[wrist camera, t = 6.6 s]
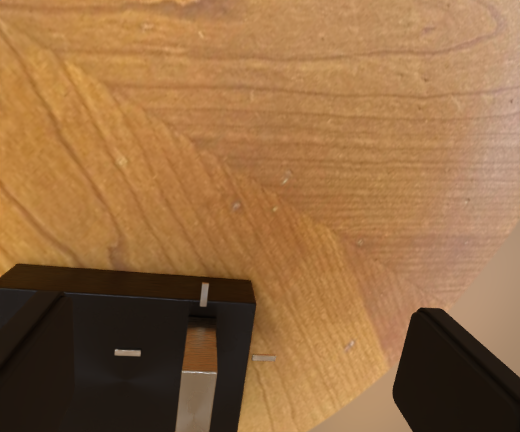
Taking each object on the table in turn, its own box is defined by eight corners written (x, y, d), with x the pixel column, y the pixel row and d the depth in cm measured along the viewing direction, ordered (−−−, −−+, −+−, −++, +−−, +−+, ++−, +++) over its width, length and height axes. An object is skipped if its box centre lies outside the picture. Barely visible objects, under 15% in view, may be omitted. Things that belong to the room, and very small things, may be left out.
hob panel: (278, 266, 24) (287, 289, 21) (253, 417, 27) (258, 456, 24) (15, 245, 21) (-17, 268, 18) (23, 414, 25) (-4, 457, 22)
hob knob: (188, 315, 21) (180, 374, 16) (216, 317, 21) (217, 376, 16) (179, 389, 22) (171, 463, 17) (206, 390, 22) (205, 463, 18)
